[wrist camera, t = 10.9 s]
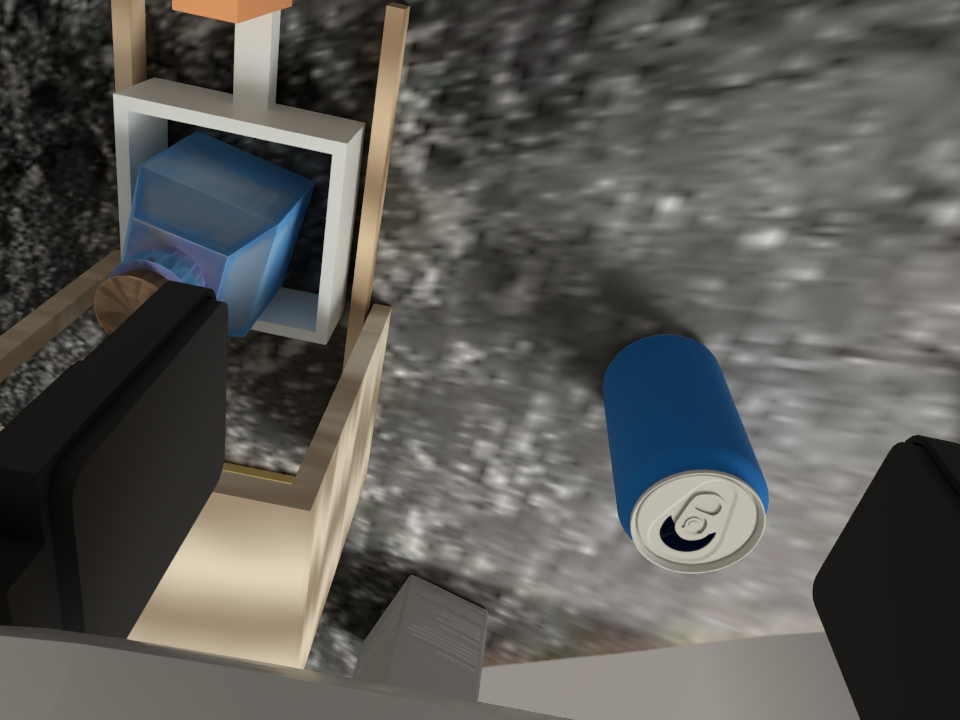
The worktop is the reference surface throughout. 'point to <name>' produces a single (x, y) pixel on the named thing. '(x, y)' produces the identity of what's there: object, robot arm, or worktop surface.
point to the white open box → (255, 115)
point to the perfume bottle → (207, 230)
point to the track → (134, 70)
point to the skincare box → (426, 643)
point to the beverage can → (681, 457)
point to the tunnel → (250, 512)
